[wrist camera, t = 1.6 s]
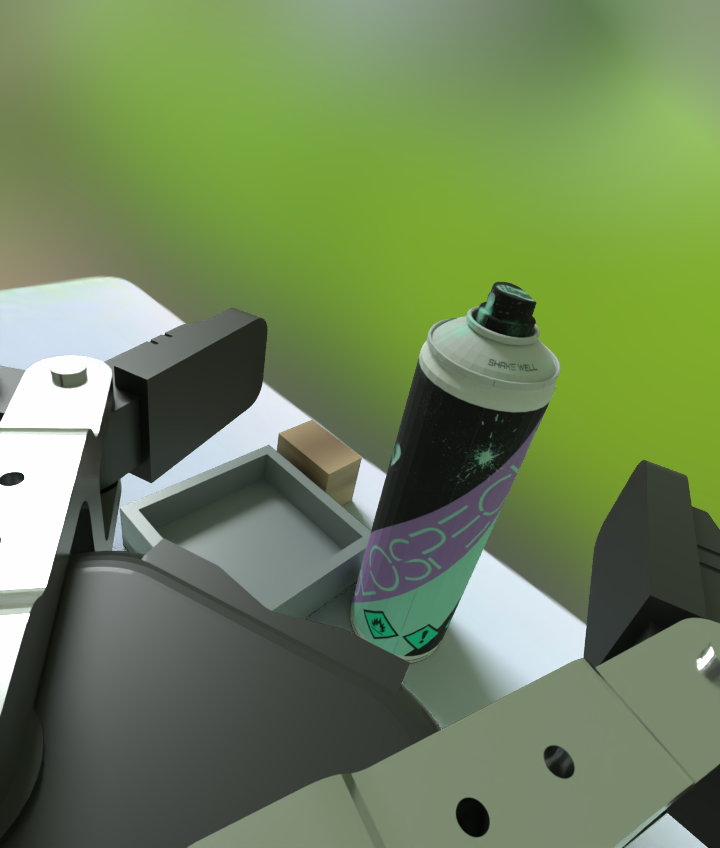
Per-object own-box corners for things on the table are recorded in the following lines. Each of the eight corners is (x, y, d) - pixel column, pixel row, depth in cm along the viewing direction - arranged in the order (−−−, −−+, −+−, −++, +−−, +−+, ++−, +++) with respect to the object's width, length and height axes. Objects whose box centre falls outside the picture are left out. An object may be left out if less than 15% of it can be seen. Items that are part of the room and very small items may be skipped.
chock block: (273, 477, 40) (279, 433, 37) (305, 462, 42) (312, 419, 39) (320, 519, 37) (329, 474, 35) (351, 501, 39) (361, 457, 37)
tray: (123, 544, 32) (119, 507, 31) (265, 477, 39) (268, 444, 38) (226, 674, 27) (229, 638, 26) (369, 572, 34) (379, 538, 32)
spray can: (329, 610, 31) (412, 270, 20) (394, 566, 35) (495, 255, 24) (399, 684, 28) (541, 336, 17) (462, 627, 32) (614, 308, 21)
